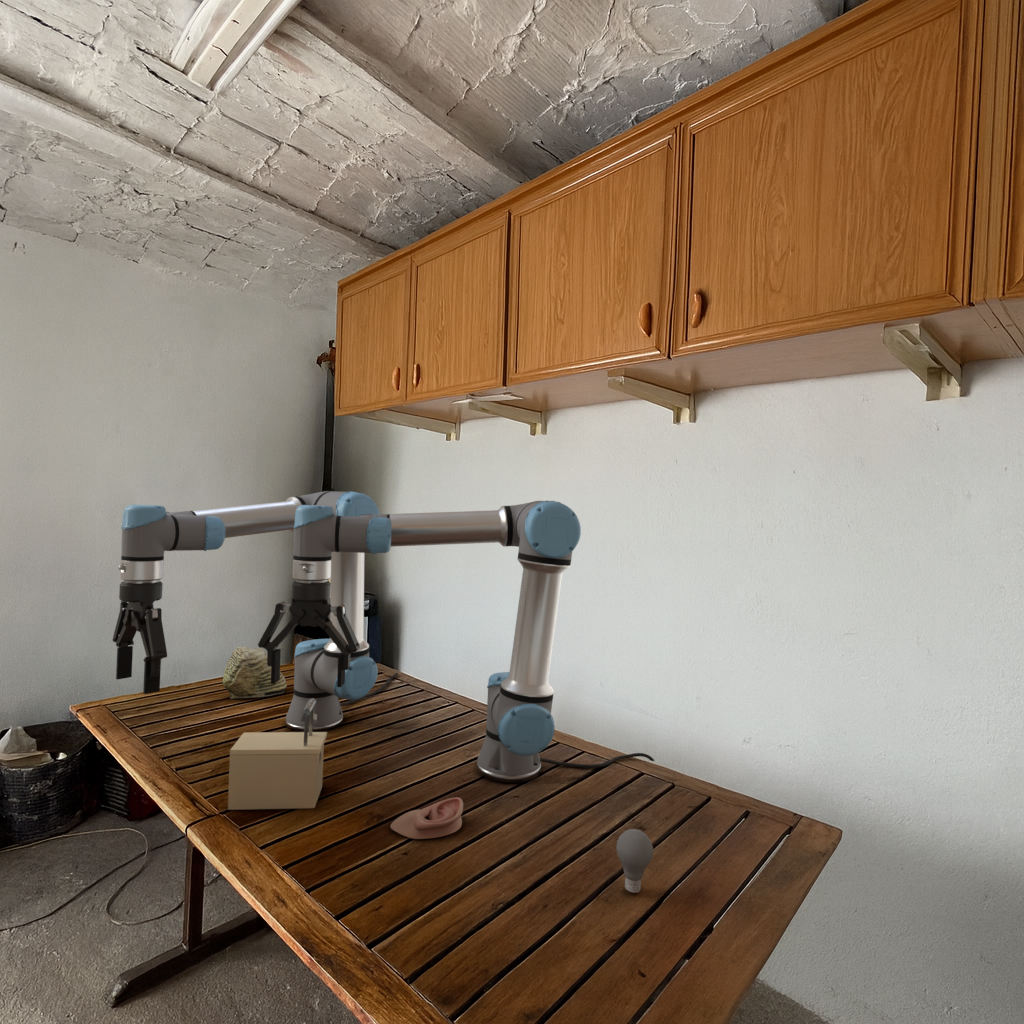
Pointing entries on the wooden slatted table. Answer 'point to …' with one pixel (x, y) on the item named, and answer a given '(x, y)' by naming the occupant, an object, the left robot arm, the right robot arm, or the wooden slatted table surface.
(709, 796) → the wooden slatted table surface
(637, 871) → the light bulb
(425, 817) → the anatomical model
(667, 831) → the wooden slatted table surface
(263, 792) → the chest
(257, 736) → the lid
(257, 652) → the fossil
